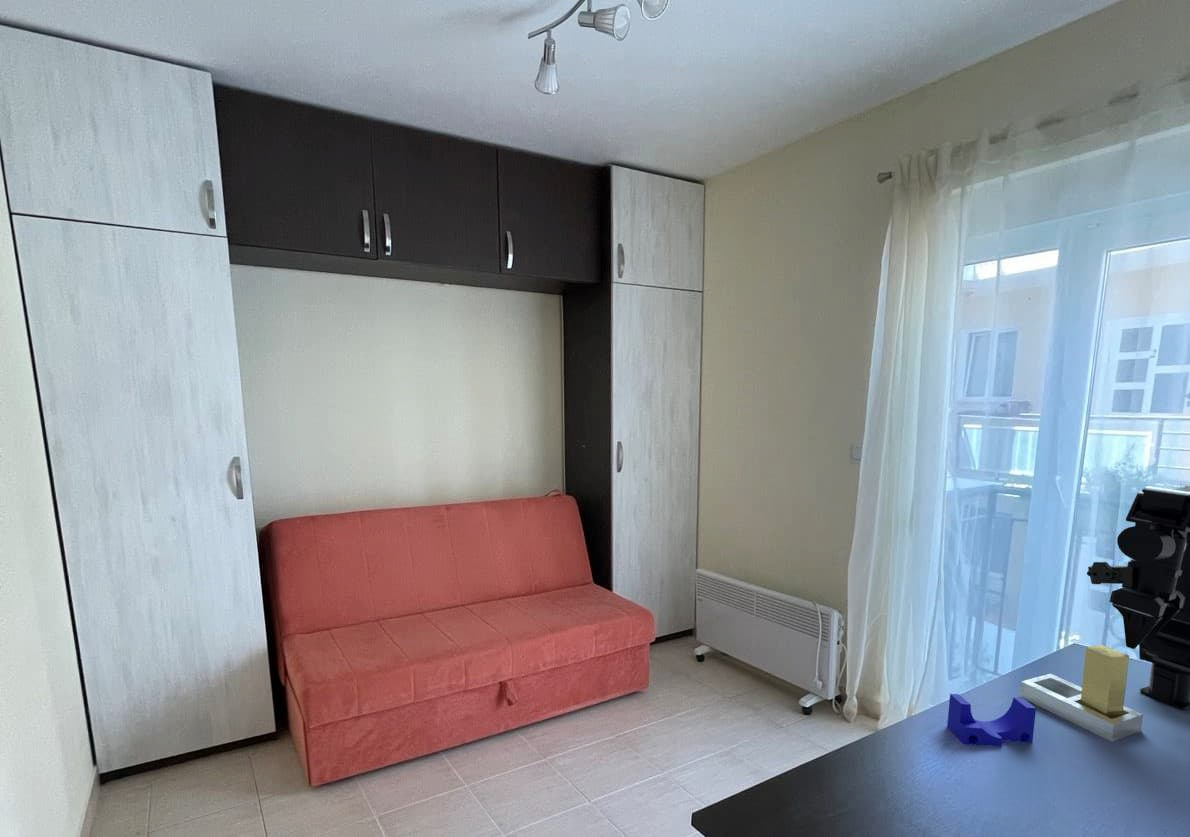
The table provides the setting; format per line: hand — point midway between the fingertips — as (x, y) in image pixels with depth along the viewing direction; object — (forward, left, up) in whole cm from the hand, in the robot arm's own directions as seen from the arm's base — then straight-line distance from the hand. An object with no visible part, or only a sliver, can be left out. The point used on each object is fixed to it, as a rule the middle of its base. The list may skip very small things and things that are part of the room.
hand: (1137, 644), depth 100 cm
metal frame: (+8, -4, -13) cm, 16 cm away
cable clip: (+31, -4, -14) cm, 34 cm away
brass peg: (+9, 0, -13) cm, 16 cm away
